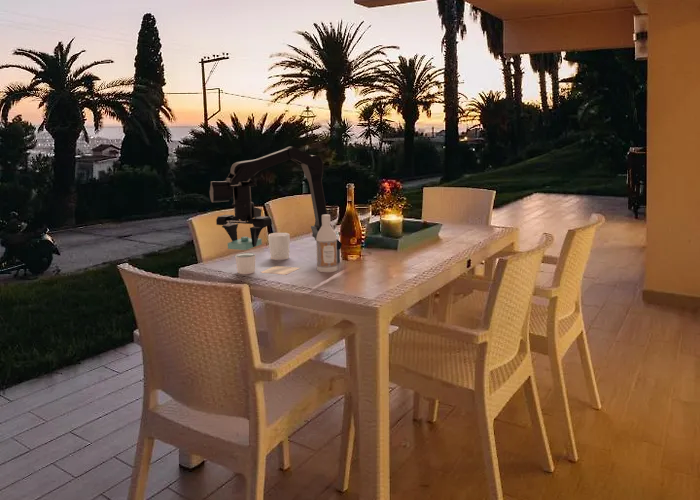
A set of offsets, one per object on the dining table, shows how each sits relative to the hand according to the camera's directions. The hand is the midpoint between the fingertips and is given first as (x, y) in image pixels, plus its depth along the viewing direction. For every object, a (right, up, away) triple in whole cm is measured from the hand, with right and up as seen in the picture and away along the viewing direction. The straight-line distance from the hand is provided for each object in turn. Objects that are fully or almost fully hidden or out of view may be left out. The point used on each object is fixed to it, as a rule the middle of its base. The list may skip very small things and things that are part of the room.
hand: (245, 246), depth 204 cm
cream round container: (0, -10, +2) cm, 10 cm away
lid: (0, 0, 0) cm, 0 cm away
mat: (+12, -9, +3) cm, 15 cm away
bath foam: (+28, -9, +3) cm, 29 cm away
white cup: (+9, -6, +23) cm, 25 cm away
